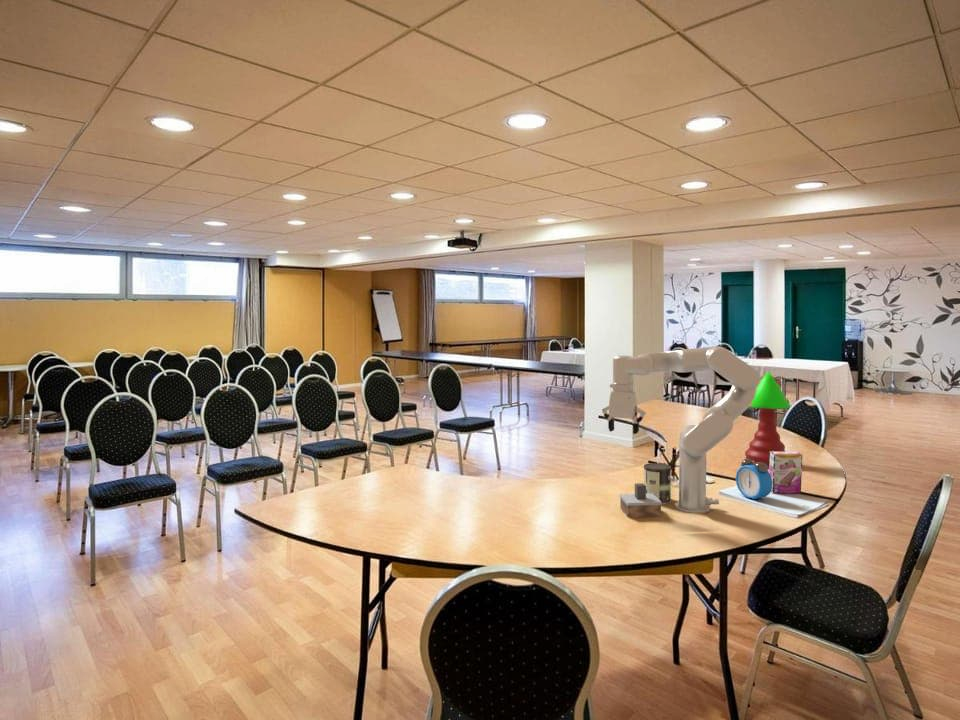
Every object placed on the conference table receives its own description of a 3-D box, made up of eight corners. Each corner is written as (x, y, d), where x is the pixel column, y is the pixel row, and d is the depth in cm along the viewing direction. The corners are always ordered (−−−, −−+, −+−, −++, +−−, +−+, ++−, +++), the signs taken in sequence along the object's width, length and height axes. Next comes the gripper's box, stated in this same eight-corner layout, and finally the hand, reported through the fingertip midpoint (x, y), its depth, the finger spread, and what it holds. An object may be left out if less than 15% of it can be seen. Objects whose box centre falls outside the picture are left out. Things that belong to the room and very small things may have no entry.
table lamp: (779, 458, 294) (781, 369, 291) (796, 469, 274) (799, 373, 271) (738, 458, 296) (739, 369, 293) (752, 468, 276) (754, 373, 273)
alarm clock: (734, 494, 238) (735, 457, 237) (746, 492, 241) (747, 456, 239) (761, 503, 226) (761, 465, 225) (773, 501, 228) (773, 463, 227)
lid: (652, 495, 222) (652, 480, 221) (661, 504, 212) (661, 488, 211) (619, 496, 222) (619, 481, 221) (627, 505, 211) (627, 489, 211)
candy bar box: (773, 493, 238) (773, 454, 237) (768, 490, 243) (769, 451, 242) (802, 494, 237) (803, 454, 236) (796, 490, 242) (797, 451, 241)
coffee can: (669, 497, 235) (669, 463, 234) (672, 506, 225) (672, 469, 224) (642, 496, 237) (642, 462, 236) (644, 504, 227) (644, 469, 226)
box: (651, 509, 222) (652, 496, 222) (660, 518, 212) (661, 504, 212) (620, 509, 222) (620, 496, 221) (627, 519, 212) (627, 505, 211)
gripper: (598, 387, 227) (598, 431, 228) (641, 390, 216) (641, 436, 218) (606, 385, 233) (606, 428, 234) (648, 388, 222) (648, 432, 224)
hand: (623, 432), depth 226 cm, fingers open, 9 cm apart
